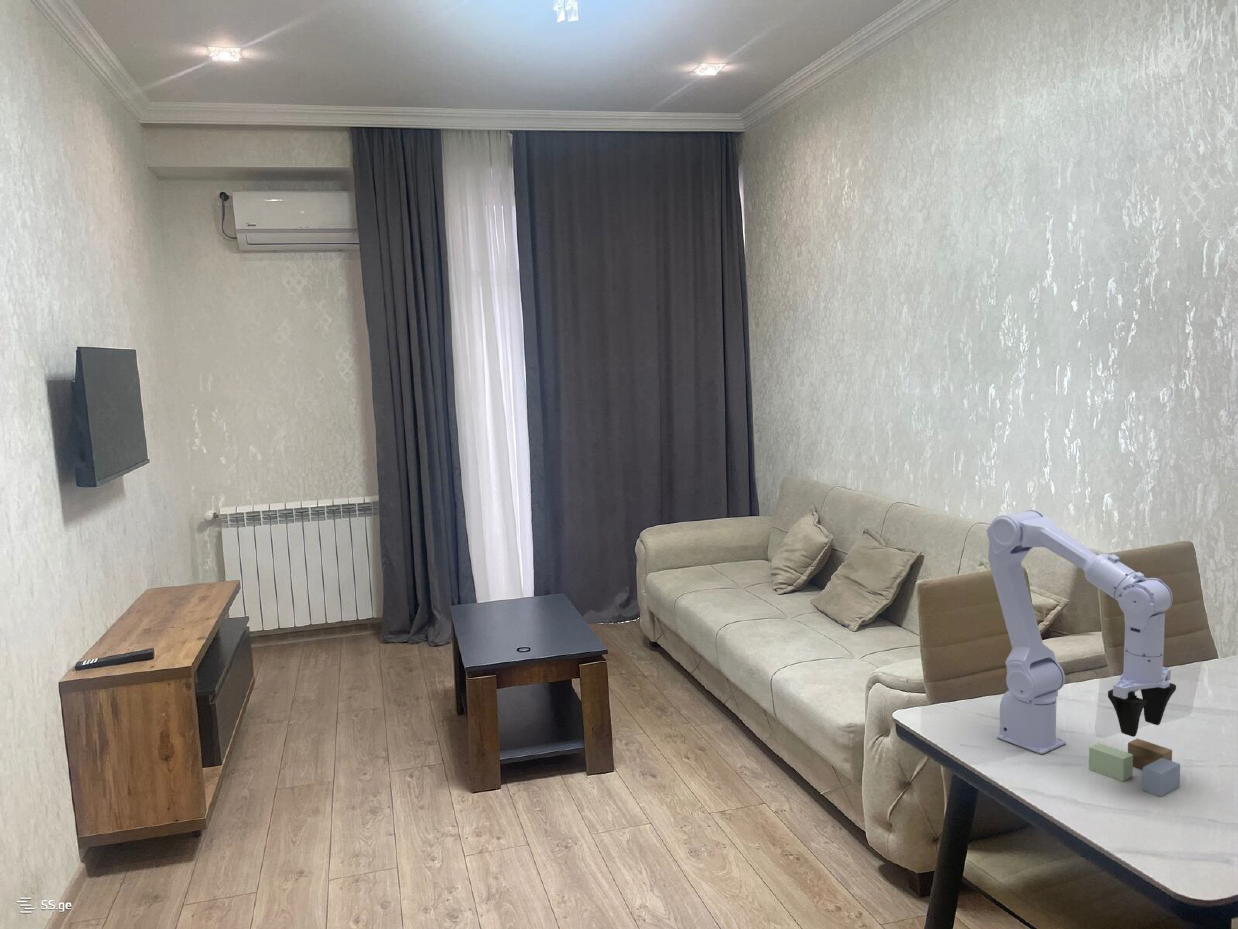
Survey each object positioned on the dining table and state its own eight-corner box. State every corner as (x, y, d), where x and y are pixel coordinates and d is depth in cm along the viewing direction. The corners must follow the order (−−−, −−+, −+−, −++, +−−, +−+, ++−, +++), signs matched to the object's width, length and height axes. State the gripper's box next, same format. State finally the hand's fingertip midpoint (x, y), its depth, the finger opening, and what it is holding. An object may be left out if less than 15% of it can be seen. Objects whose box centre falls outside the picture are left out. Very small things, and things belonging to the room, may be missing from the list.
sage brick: (1088, 769, 159) (1089, 747, 158) (1098, 764, 160) (1098, 743, 160) (1122, 781, 154) (1123, 759, 153) (1132, 776, 155) (1132, 754, 155)
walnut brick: (1127, 764, 160) (1127, 742, 159) (1136, 759, 161) (1137, 738, 161) (1162, 776, 155) (1163, 754, 154) (1171, 771, 156) (1172, 750, 156)
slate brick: (1160, 797, 148) (1161, 774, 147) (1142, 790, 150) (1142, 767, 150) (1179, 786, 151) (1180, 764, 150) (1161, 780, 153) (1161, 757, 153)
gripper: (1145, 667, 143) (1142, 748, 145) (1190, 648, 151) (1187, 725, 152) (1101, 655, 149) (1099, 733, 151) (1147, 638, 157) (1144, 712, 158)
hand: (1140, 728), depth 152 cm, fingers open, 7 cm apart
